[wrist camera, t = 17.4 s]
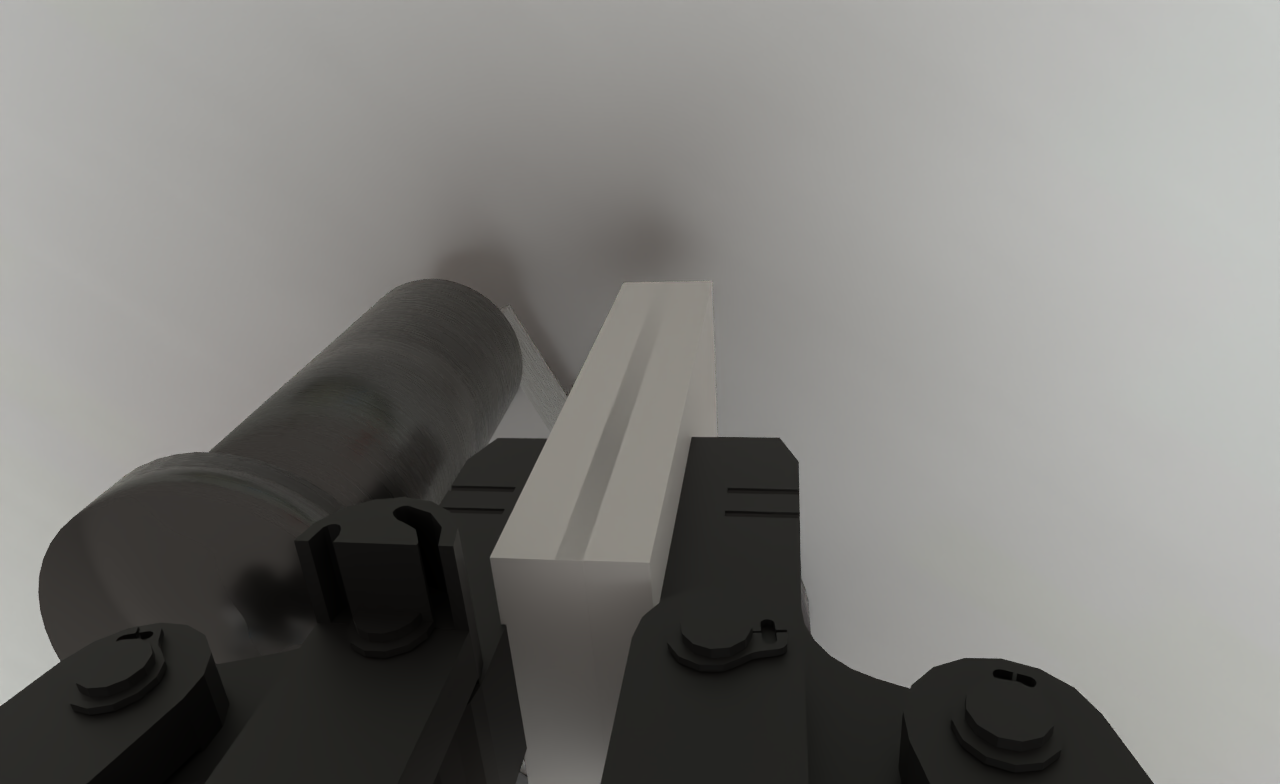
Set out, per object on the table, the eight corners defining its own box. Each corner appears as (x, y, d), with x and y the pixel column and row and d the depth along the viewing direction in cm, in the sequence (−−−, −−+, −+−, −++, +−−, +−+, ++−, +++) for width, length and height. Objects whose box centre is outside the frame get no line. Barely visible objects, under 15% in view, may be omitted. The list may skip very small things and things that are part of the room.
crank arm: (808, 691, 21) (839, 1180, 13) (643, 743, 22) (571, 1217, 14) (508, 189, 17) (252, 422, 8) (327, 291, 18) (-51, 581, 10)
